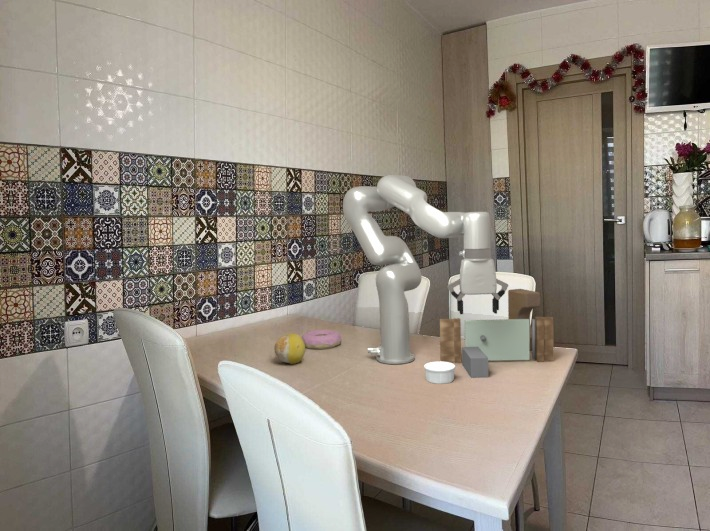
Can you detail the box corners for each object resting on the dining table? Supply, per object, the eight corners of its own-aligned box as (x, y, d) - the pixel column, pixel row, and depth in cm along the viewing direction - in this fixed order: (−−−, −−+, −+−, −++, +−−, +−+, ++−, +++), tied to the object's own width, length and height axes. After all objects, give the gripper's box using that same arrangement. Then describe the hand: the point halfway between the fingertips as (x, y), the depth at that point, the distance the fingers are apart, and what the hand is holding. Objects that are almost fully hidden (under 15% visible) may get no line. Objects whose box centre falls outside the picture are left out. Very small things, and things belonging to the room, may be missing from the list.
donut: (335, 339, 206) (334, 326, 206) (347, 348, 192) (346, 334, 191) (297, 343, 201) (296, 330, 201) (306, 352, 187) (305, 339, 186)
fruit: (292, 357, 181) (291, 329, 180) (312, 362, 173) (311, 333, 172) (268, 364, 174) (266, 334, 173) (287, 369, 166) (286, 339, 165)
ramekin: (448, 386, 144) (448, 371, 144) (419, 382, 149) (418, 367, 149) (459, 377, 152) (459, 363, 151) (431, 374, 157) (431, 359, 156)
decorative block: (541, 350, 178) (540, 292, 176) (526, 352, 176) (526, 293, 174) (521, 343, 189) (521, 288, 187) (507, 344, 187) (507, 289, 185)
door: (466, 362, 165) (465, 322, 164) (465, 359, 168) (464, 320, 167) (537, 361, 163) (537, 320, 162) (534, 358, 166) (534, 318, 165)
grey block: (471, 378, 151) (470, 358, 150) (462, 365, 164) (462, 347, 163) (488, 378, 151) (488, 357, 150) (478, 365, 164) (478, 346, 163)
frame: (441, 363, 167) (440, 320, 166) (440, 361, 169) (439, 318, 168) (553, 361, 164) (553, 318, 163) (551, 359, 166) (551, 316, 165)
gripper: (448, 256, 147) (449, 316, 149) (510, 254, 146) (511, 314, 147) (445, 254, 154) (446, 311, 156) (504, 252, 153) (505, 310, 155)
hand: (478, 313), depth 152 cm, fingers open, 9 cm apart
